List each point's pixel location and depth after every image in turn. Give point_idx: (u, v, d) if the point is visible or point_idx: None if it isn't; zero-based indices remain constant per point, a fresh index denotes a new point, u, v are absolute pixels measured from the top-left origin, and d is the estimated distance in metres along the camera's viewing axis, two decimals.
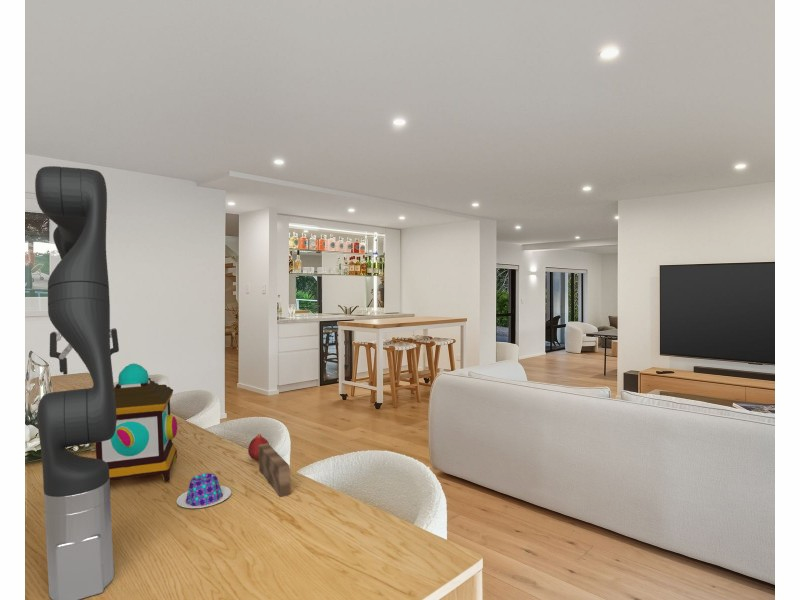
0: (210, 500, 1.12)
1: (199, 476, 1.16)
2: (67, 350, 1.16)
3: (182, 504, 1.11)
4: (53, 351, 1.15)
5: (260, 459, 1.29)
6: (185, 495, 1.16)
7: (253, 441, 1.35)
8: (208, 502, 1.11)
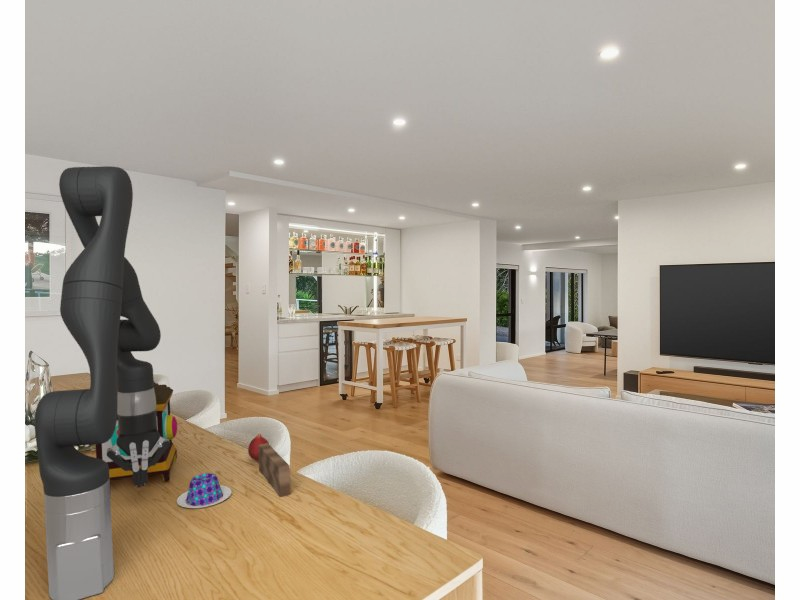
0: (209, 500, 1.12)
1: (199, 476, 1.16)
2: (134, 461, 1.06)
3: (182, 503, 1.11)
4: (124, 465, 1.05)
5: (260, 459, 1.29)
6: (186, 495, 1.16)
7: (253, 441, 1.35)
8: (208, 502, 1.11)
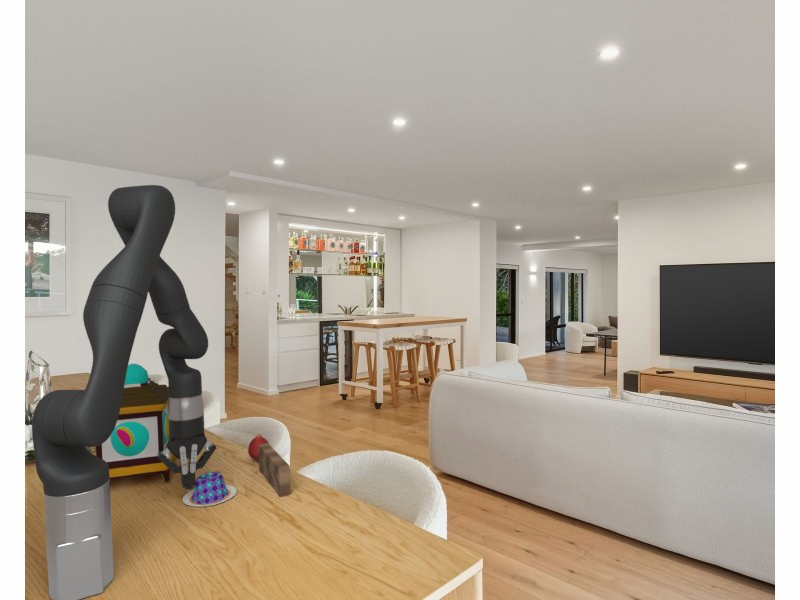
0: (214, 499, 1.13)
1: (205, 475, 1.17)
2: (184, 464, 1.11)
3: (188, 502, 1.12)
4: (174, 468, 1.10)
5: (260, 459, 1.29)
6: (192, 493, 1.17)
7: (253, 441, 1.35)
8: (213, 501, 1.12)
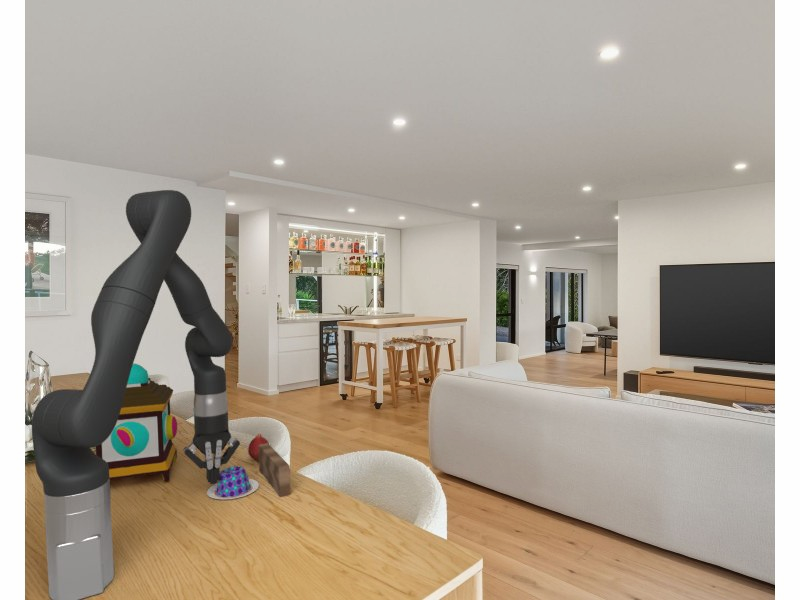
0: (239, 492, 1.16)
1: (228, 469, 1.20)
2: (209, 459, 1.13)
3: (213, 495, 1.15)
4: (200, 463, 1.13)
5: (260, 459, 1.29)
6: (214, 487, 1.20)
7: (253, 441, 1.35)
8: (237, 494, 1.16)
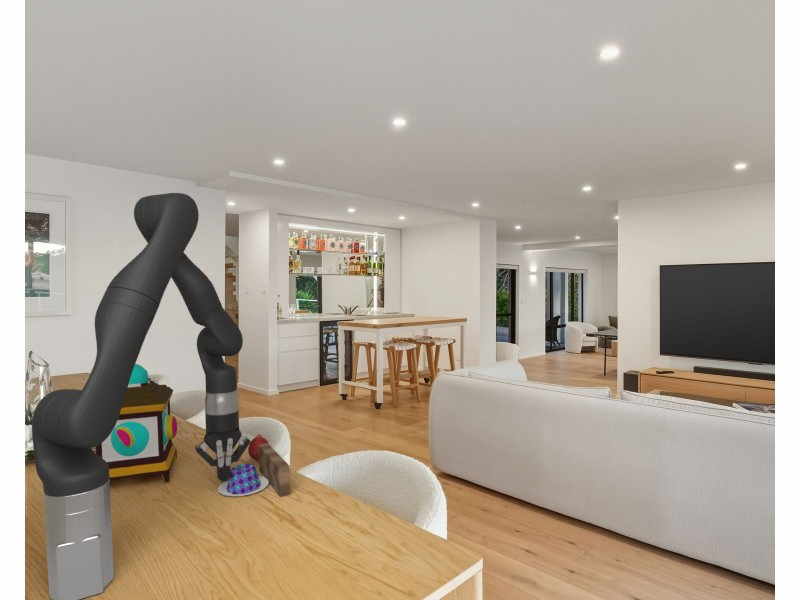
0: (250, 489, 1.17)
1: (238, 466, 1.21)
2: (220, 457, 1.15)
3: (224, 492, 1.17)
4: (211, 461, 1.14)
5: (260, 459, 1.29)
6: (225, 485, 1.21)
7: (253, 441, 1.35)
8: (248, 490, 1.17)
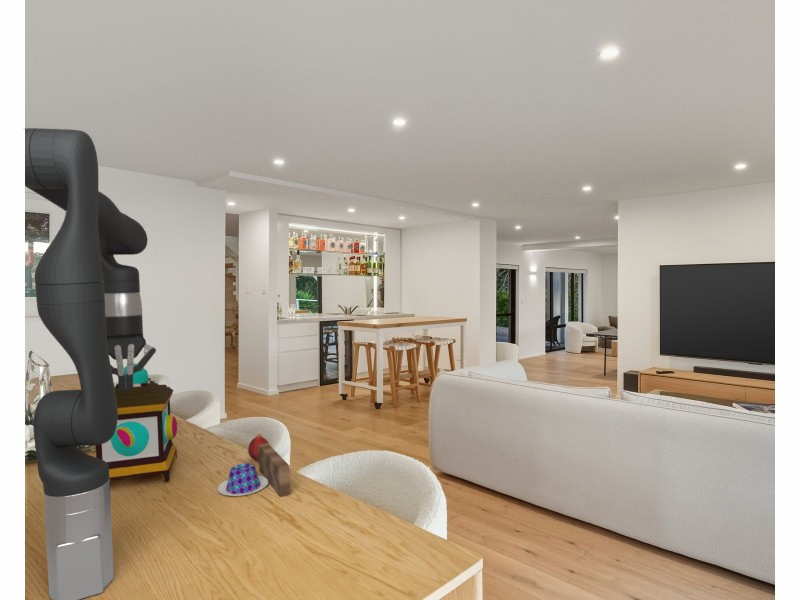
0: (249, 488, 1.18)
1: (238, 466, 1.22)
2: (119, 364, 1.05)
3: (223, 492, 1.17)
4: None
5: (260, 459, 1.29)
6: (225, 484, 1.22)
7: (253, 441, 1.35)
8: (247, 490, 1.17)
